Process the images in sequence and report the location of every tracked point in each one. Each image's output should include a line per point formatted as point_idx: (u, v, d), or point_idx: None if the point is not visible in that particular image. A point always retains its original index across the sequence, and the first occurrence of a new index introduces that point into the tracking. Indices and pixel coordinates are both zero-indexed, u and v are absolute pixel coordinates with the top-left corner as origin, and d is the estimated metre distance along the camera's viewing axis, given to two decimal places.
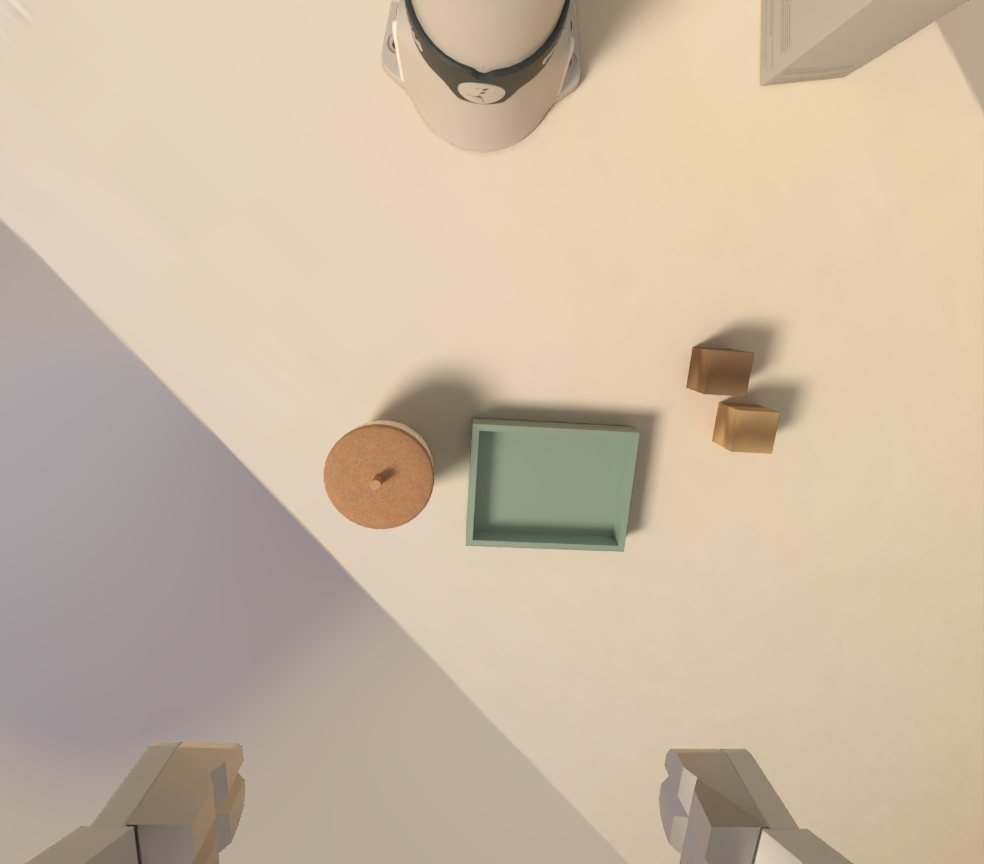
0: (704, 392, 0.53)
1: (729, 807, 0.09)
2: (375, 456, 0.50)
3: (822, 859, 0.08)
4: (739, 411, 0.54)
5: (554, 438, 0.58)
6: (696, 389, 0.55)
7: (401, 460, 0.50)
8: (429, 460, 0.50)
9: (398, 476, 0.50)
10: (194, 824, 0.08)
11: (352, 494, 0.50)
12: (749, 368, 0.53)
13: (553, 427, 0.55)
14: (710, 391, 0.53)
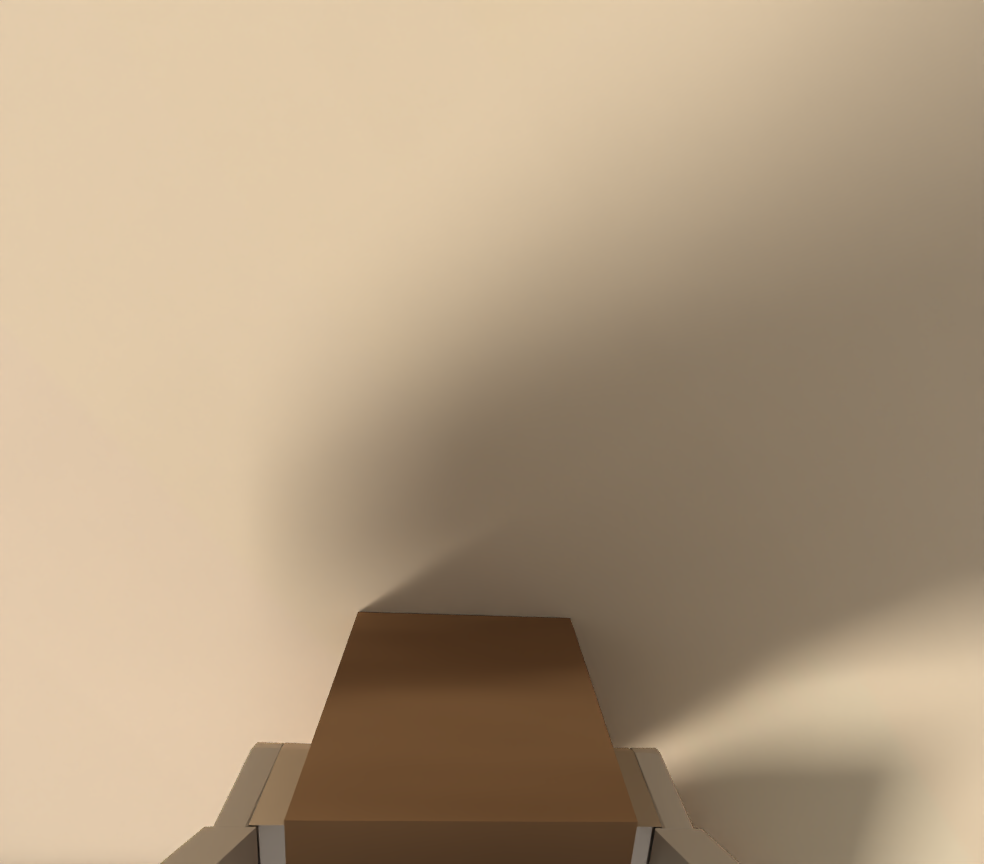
0: None
1: None
2: None
3: (708, 859, 0.08)
4: None
5: None
6: None
7: None
8: None
9: None
10: None
11: None
12: None
13: None
14: None
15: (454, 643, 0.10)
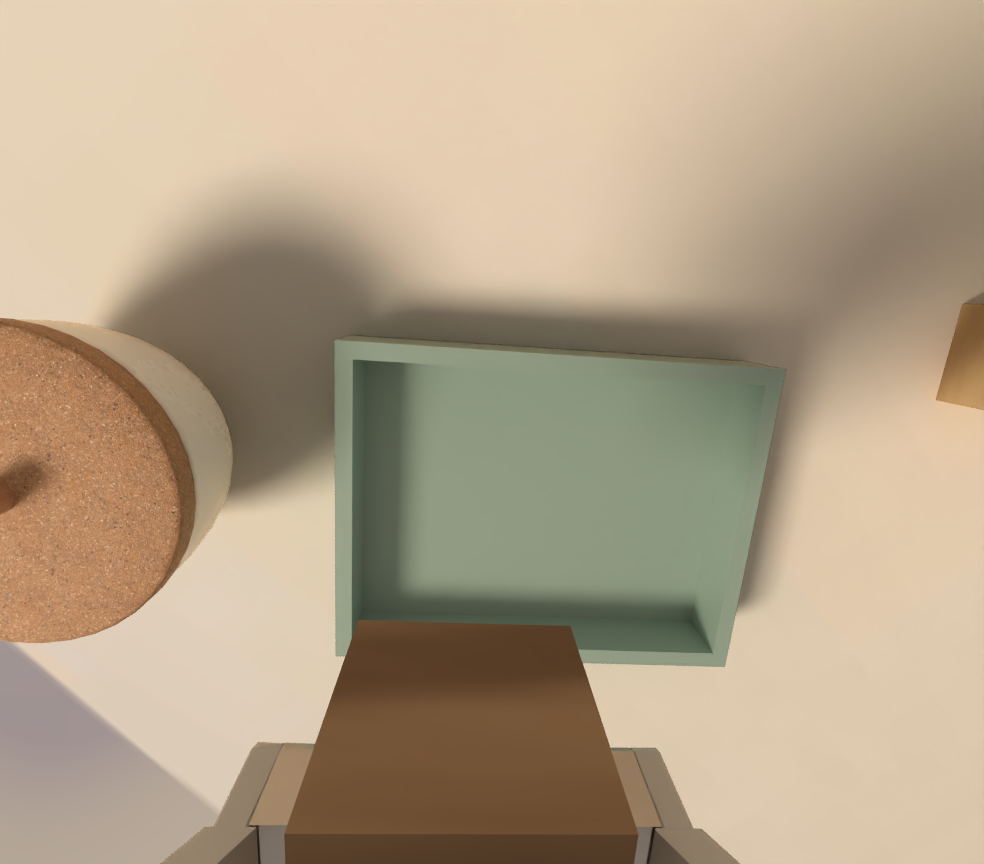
0: None
1: None
2: None
3: (709, 859, 0.08)
4: None
5: (558, 389, 0.23)
6: None
7: (62, 434, 0.15)
8: (161, 437, 0.16)
9: (59, 487, 0.16)
10: None
11: None
12: None
13: (556, 354, 0.21)
14: None
15: (454, 651, 0.10)
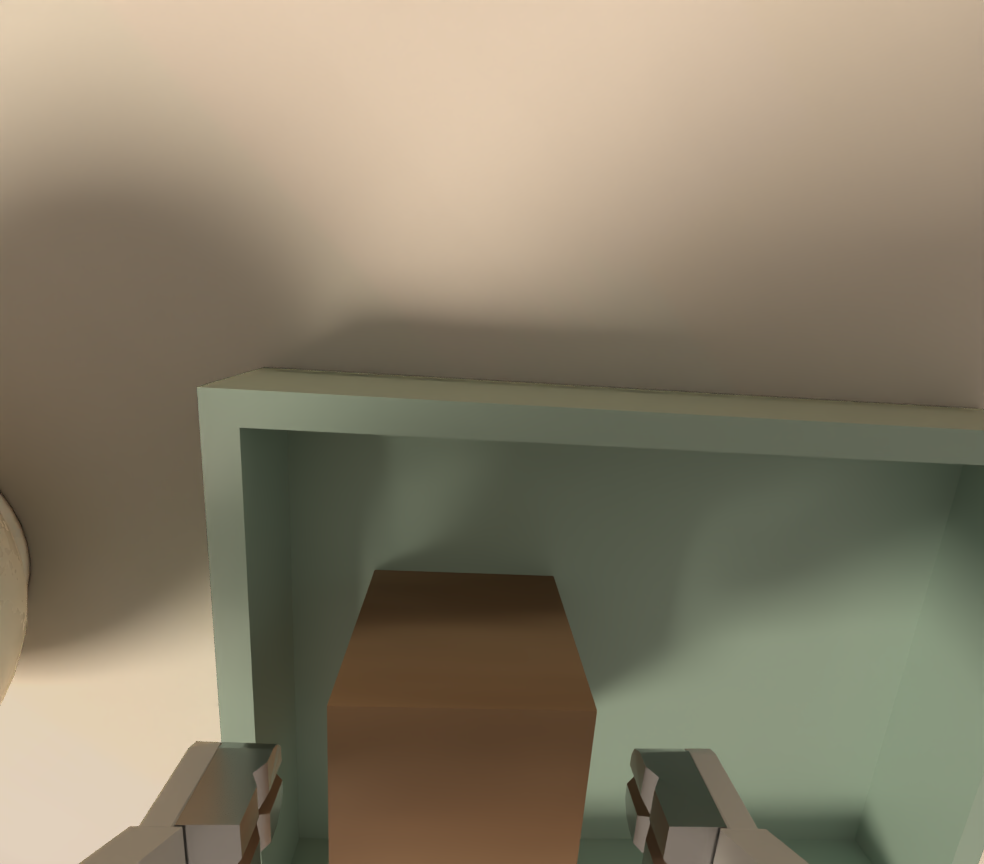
0: None
1: (688, 807, 0.08)
2: None
3: (777, 859, 0.08)
4: None
5: (648, 464, 0.12)
6: None
7: None
8: None
9: None
10: (241, 824, 0.08)
11: None
12: (577, 786, 0.09)
13: (666, 410, 0.10)
14: None
15: (455, 593, 0.12)
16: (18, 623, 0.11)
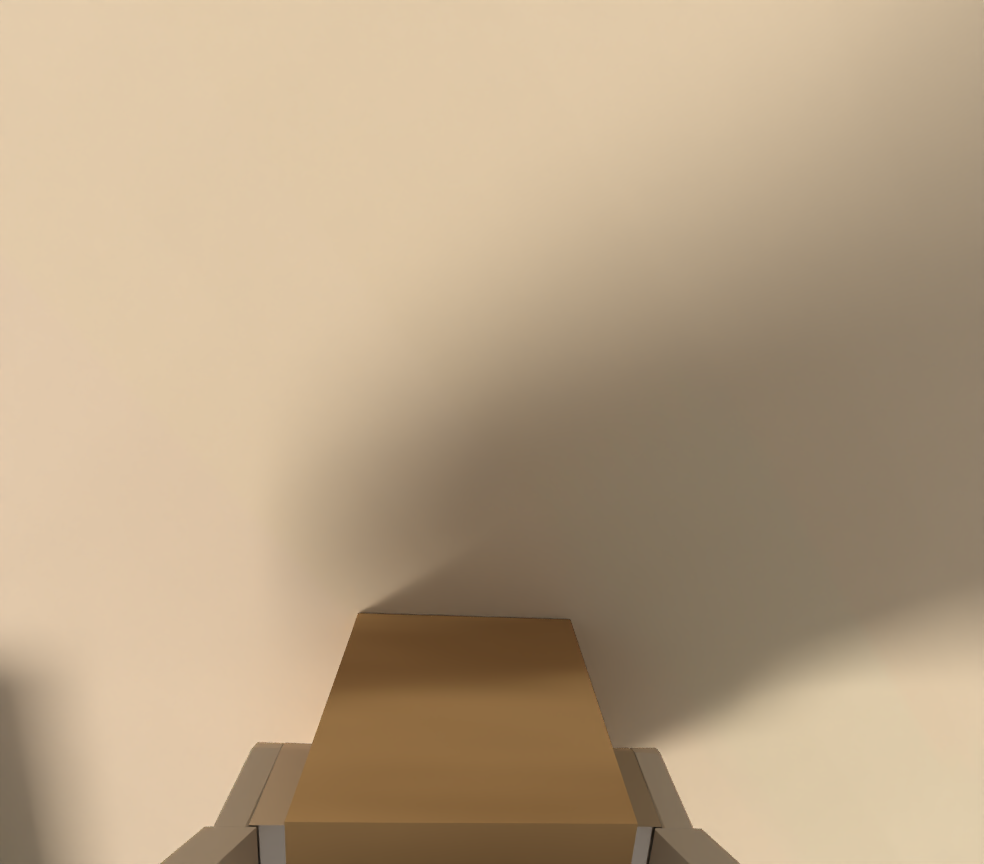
0: None
1: None
2: None
3: (708, 859, 0.08)
4: (293, 830, 0.06)
5: None
6: None
7: None
8: None
9: None
10: None
11: None
12: None
13: None
14: None
15: None
16: None
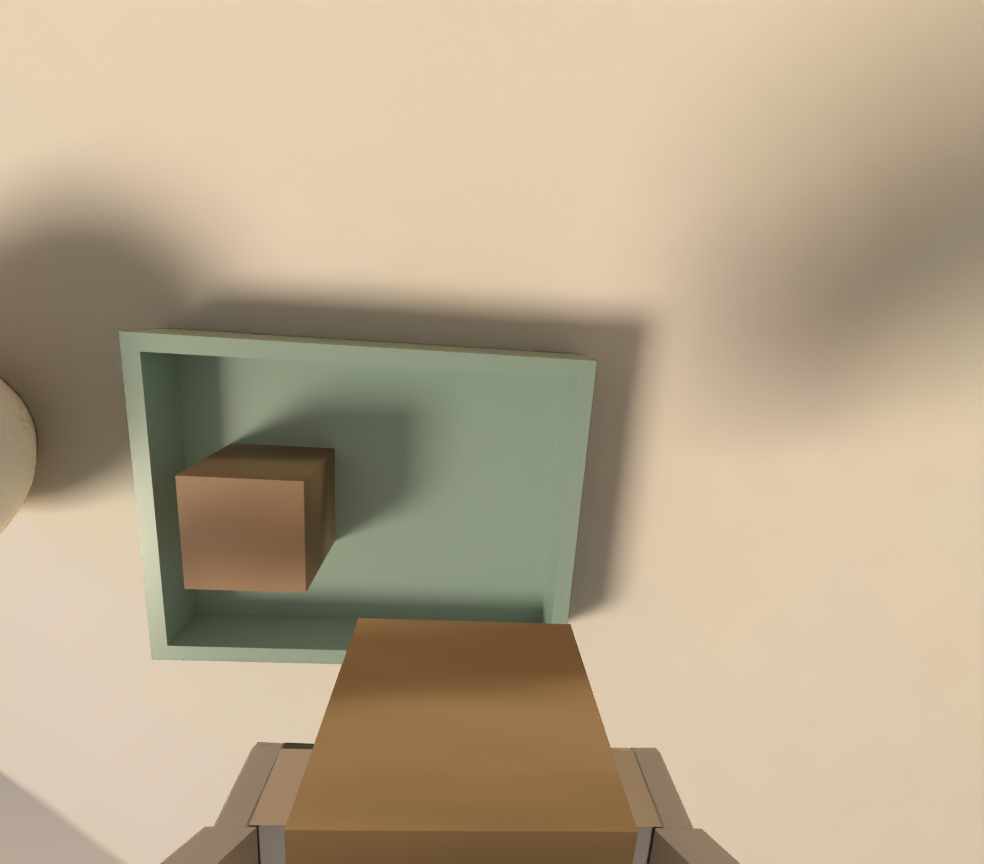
0: (185, 584, 0.19)
1: None
2: None
3: (708, 859, 0.08)
4: (293, 838, 0.06)
5: (381, 383, 0.22)
6: None
7: None
8: None
9: None
10: None
11: None
12: (299, 522, 0.19)
13: (357, 345, 0.20)
14: (201, 582, 0.19)
15: (270, 451, 0.22)
16: (31, 459, 0.21)
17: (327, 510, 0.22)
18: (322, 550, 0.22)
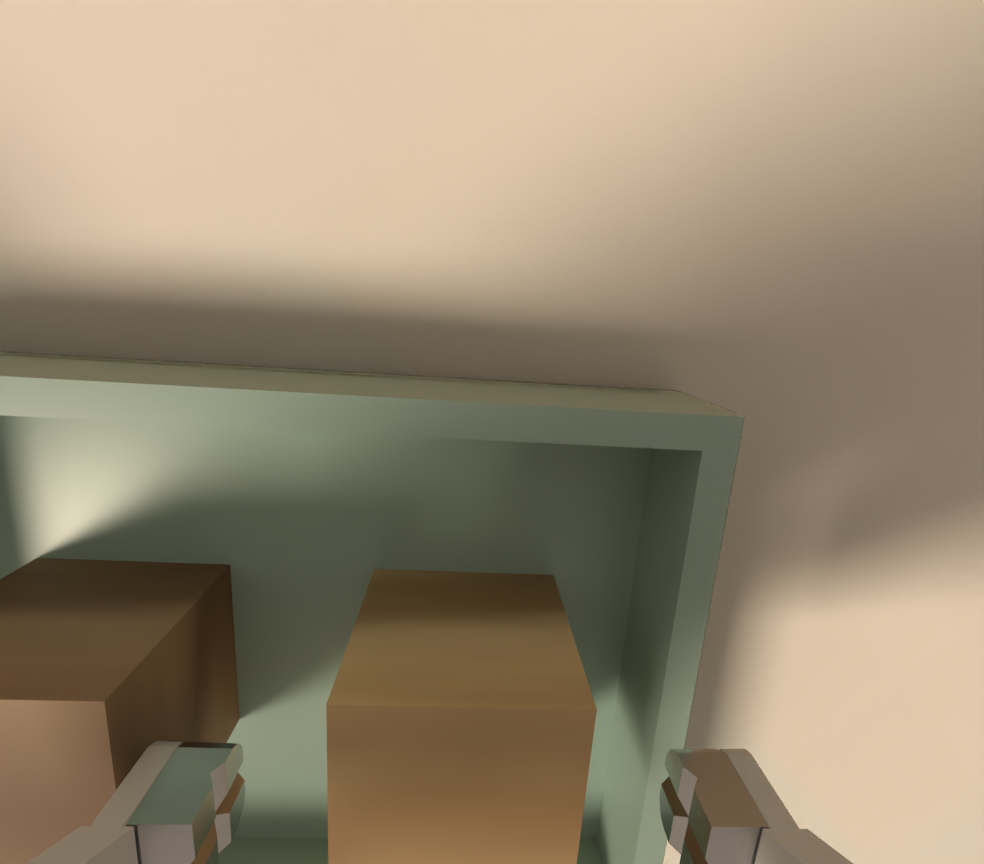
0: None
1: (729, 807, 0.09)
2: None
3: (822, 860, 0.08)
4: (333, 711, 0.08)
5: (313, 448, 0.12)
6: None
7: None
8: None
9: None
10: (194, 824, 0.08)
11: None
12: (105, 782, 0.09)
13: (244, 386, 0.09)
14: None
15: (98, 581, 0.11)
16: None
17: (209, 689, 0.12)
18: None
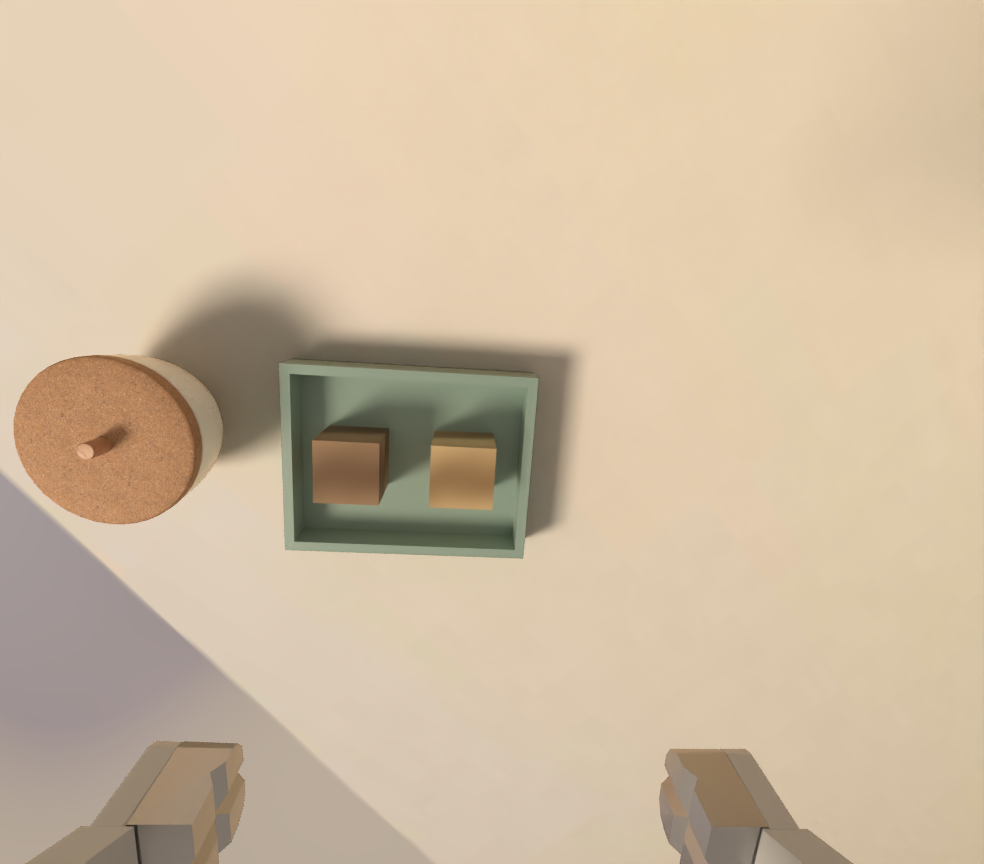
0: (313, 500, 0.36)
1: (729, 807, 0.09)
2: (92, 406, 0.31)
3: (821, 859, 0.08)
4: (432, 447, 0.35)
5: (417, 390, 0.39)
6: None
7: (136, 413, 0.31)
8: (185, 414, 0.31)
9: (134, 440, 0.31)
10: (194, 824, 0.08)
11: (63, 468, 0.32)
12: (376, 465, 0.35)
13: (406, 370, 0.36)
14: (322, 499, 0.36)
15: (353, 429, 0.38)
16: None
17: (385, 463, 0.39)
18: (384, 486, 0.38)
